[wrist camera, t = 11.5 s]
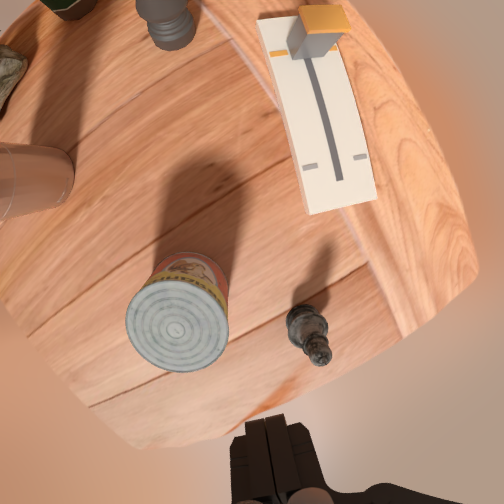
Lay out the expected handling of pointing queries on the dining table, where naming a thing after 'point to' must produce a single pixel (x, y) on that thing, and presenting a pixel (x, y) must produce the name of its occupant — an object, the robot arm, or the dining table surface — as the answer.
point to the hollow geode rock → (10, 70)
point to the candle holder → (167, 22)
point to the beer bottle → (70, 8)
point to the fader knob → (316, 30)
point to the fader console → (318, 122)
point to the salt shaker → (309, 333)
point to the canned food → (181, 314)
